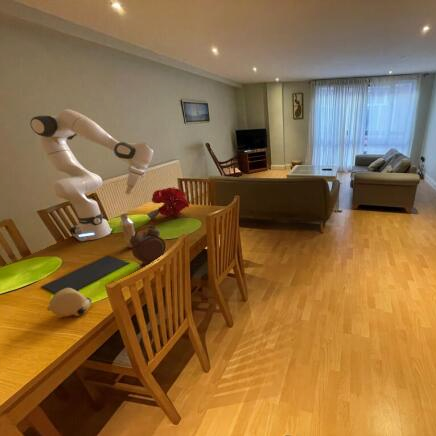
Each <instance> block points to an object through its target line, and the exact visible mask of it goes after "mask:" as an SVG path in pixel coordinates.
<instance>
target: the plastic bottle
mask: <svg viewBox="0 0 436 436" xmlns="http://www.w3.org/2000/svg"><path fill="white" fill-rule="evenodd" d="M119 217H120V219H121V220H120V222H119V227H120V229H121V230H122V233H123V235H124V239H125V245H126V247H127V248H128V249H132V245H131V243H130V239H131V236H134V235H135V232H136V230H135V225H134V221H133V220H132V219H130V217H129V214H128V213H124V214H120V215H119Z"/></svg>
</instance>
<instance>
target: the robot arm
mask: <svg viewBox="0 0 436 436" xmlns="http://www.w3.org/2000/svg"><path fill="white" fill-rule="evenodd" d="M30 127H31V130H32V131H33V132H34V133H35V134H36V135H38V136H40V137H39V143H40V145H41V148H42V150H43V153H44V154H45V155H46V157H47V159H48V160H49V162H50V163H51V165H52V166H53V168H54V169H55V170H57V171H58V172H62V173H65V174H67V175H69V177H68V176H67V177H64V178H60V179H57V180H55V181H53V182H52V184H51V191H52V193H53V194H54V195H55V196H57V197H58V198H60V199H64V200H66V201H68V202H69V203H70V204H71V205H72V206H73V208H74V210H75V212H76V215H77V221H78V223H77V224H74V225H73V226H71V227H70V228H69V232H70V234H72V236H73V237H74V238H75V239H77V241H79V242H85V241H94V240H98V239H102V238H104V237H106V236H109V235H110V234H111V232H112V231H113V228H112V227H110V225H109V223H108V220H107V218H106V219H105V218H104V215H103V213H102V212H101V209H100V206H99V204H98V202H97V201H96V200H94V199H93V198H88V197H87V196H86V194H88V193H91V192H95V191H97V190H99V189H101V188H102V187H103V183H104V182H103V179H102V178H101V176H100V175H98V174H97V173H95V172H94V173H93V172H91V171H89V170H88V169H86V168H85V167H84V166H83V165H81V163H80V162H79V161H78V159H77V158H76V157H75V155H74V153H73V152H72V150H71V149H70V146H69V145H68V143H67V140H70V141H72V140H73V139H74V138H75V137H76V136H79V137H81V138H82V139H85V140H87V141H89V142H93V143H95V144H98V145H100V146H103V147H105V148H108V149H110V151H112V152H113V153H114V155H115V156H116V157H117V158H118V159H121V160H122V161H124V162H125V163H127V164H128V166H127V169H126V171H127V172H128V173H127V175H128V176H127V179H126V186H127V187H126V190H125V194H126V195H130V194H131V193H132V190H133V189H134V188H135V187H136V185H137V183H138V182H139V180H141V179H142V178H145V177H146V174H147V173H148V172H147V171H148V168H149V165H150V164H151V162H152V159H153V157H154V148H152V147H151V146H150V145H148V144H147V143H145V142H143V141H140V142H135V143H133V142H126V141H125V142H124V141H118V140H117V139H115V138H114V137H113V136H112V135H110V134H109V132H107V131H106V130H105V129H103V128H102V127H101V125H99V124H98V123H96V122H95V121H94V120H93V119H91V118H89V117H88V116H86V115H84V114H82V113H80V112H78V111H76V110H73V109H69V108H66V109H65V108H64V109H62V110H61V111H59V113H58V115H37V116H33V117H32V118H31V119H30Z"/></svg>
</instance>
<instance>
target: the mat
mask: <svg viewBox="0 0 436 436" xmlns="http://www.w3.org/2000/svg"><path fill="white" fill-rule="evenodd" d="M127 265H129V261H128V262H127V261H124V260H121V259H119V258H115V257H112V256H109V255H105V256H104V257H101V258H99V259H97V260H95V261H92V262H91V263H89V264H86V265H84V266H82V267H79V268H78V269H75V270H74V271H71V272H69V273H67V274H66V275H63V276H60V277H58V278H56V279H54V280H52V281H50V282H48V283H46V284H44V285H41V288H43V289H45V290H48V291H49V292H51V293H53V294H54V295H55V294H56V293H57V292H59V291H61V290H63V289H65V288H72V289H74V290H76V291H78V292H79V291H80V290H82V289H83V288H85V287H87V286H89V285H91V284H93V283H94V282H96V281H98V280H100V279H102V278H104V277H106V276H108V275H110V274H112V273H113V272H116V271H117V270H119V269H121V268H123V267H125V266H127Z"/></svg>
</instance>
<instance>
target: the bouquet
mask: <svg viewBox="0 0 436 436" xmlns="http://www.w3.org/2000/svg"><path fill="white" fill-rule="evenodd" d="M151 202H152V203H154V204H162V205H161V206H159V207H158V208H157V209H154V210H152V211H150V212H148V213H146V215H147V217H148V218H149V219H150V220H154V219H155V218H157V216H158V215H159V214H160V215H162V216H164V217H171V216H175V217H176V218H178V216H180V214H181V212H182V211H183V210H185V209H186V208H190V204H189V202H188V199H187V195H186V193H185V192H184V191H182V190H180V189H179V188H176V187H175V186H173V187H167V188H162V189H157V190H155V191H154V192H153V193H152V197H151Z"/></svg>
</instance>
